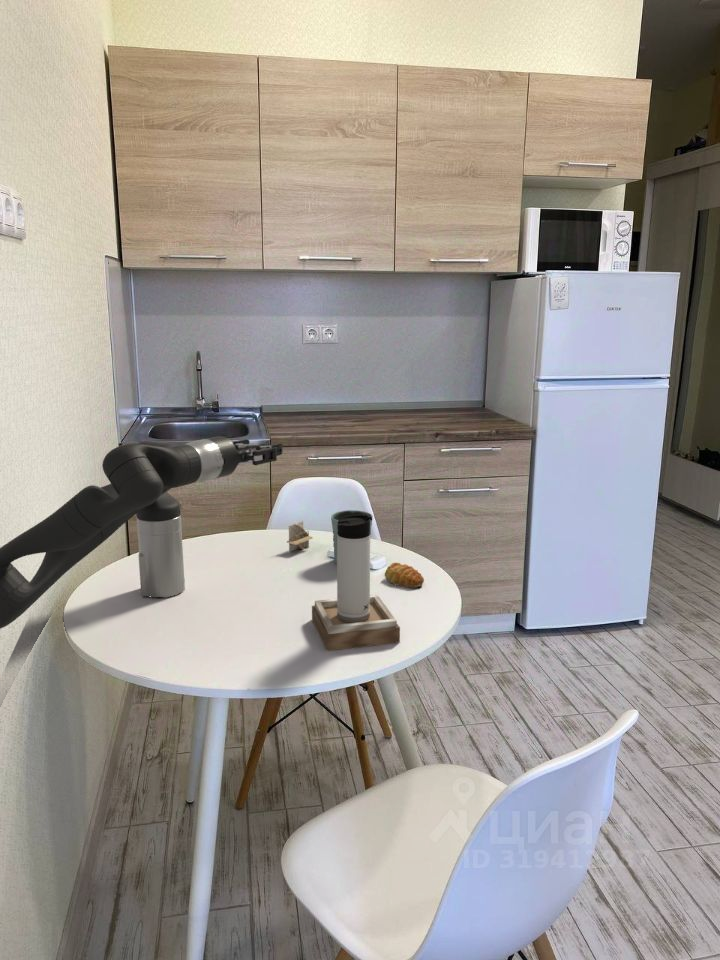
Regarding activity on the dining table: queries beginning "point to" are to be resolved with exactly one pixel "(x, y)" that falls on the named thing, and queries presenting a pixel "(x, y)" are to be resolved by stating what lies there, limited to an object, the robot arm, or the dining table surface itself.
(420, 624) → the dining table surface
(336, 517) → the green cup
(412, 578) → the pastry
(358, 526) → the travel mug
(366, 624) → the square wooden tray
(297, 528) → the architectural model
